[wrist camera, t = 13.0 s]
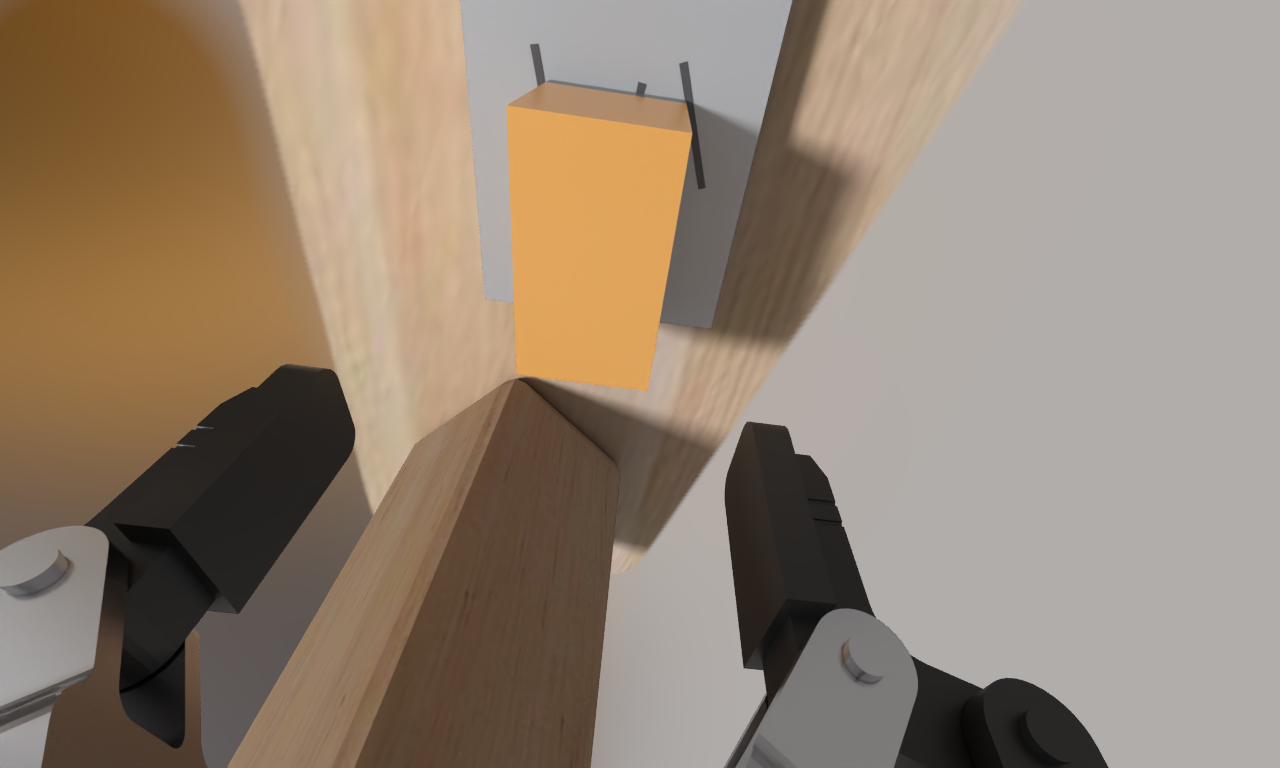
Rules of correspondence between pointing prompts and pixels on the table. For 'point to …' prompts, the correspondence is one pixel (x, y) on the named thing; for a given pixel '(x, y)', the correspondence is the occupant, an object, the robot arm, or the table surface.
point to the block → (461, 608)
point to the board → (642, 63)
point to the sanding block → (592, 228)
